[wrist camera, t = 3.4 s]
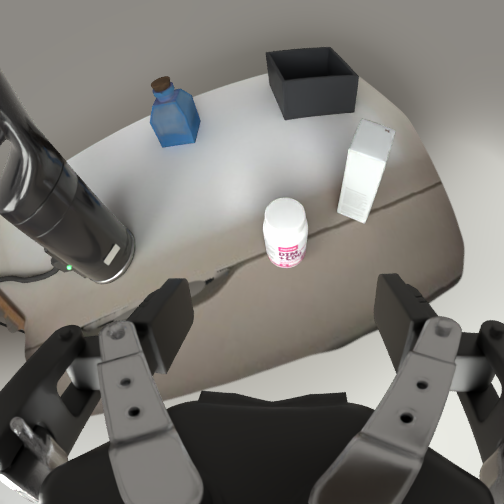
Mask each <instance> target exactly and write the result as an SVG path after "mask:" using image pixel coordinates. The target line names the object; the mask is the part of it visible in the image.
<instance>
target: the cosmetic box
mask: <svg viewBox="0 0 504 504" xmlns="http://www.w3.org/2000/svg"><path fill="white" fill-rule="evenodd" d="M394 136H395V130H394V129H391V128H388V127H386V126H383V125H380V124H378V123H375V122H372V121H369V120H366V119H361V121H360V123H359V126H358V128H357V130H356V133H355V135H354V138H353V140H352V142H351V145H350V147H349V149H348V155H347V161H346V167H345V172H344V178H343V183H342V188H341V193H340V198H339V204H338V209H337V212H338V213H340V214H342V215H345V216H347V217H350V218H352V219H355V220H357V221H359V222H362V223H365V222H366V220H367V217H368V215H369V212H370V210H371V207H372V204H373V202H374V199H375V196H376V193H377V190H378V187H379V184H380V181H381V178H382V175H383V172H384V169H385V166H386V163H387V160H388V156H389V153H390V150H391V147H392V143H393V140H394Z"/></svg>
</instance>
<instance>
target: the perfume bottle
mask: <svg viewBox="0 0 504 504" xmlns="http://www.w3.org/2000/svg"><path fill="white" fill-rule="evenodd" d="M151 87H152V88H153V94H154V96H155V97H156V100H155V102H154V104H153V106H152V112H151V118H150V124H151V126H152V128H153V130H154V132H155V134H156V136H157V138H158V140H159V142H160V144H161V146H162V148H163V147H169V146H175V145H182V144H189V143H195V140H196V136H197V132H198V128H199V125H200V118H199V115H198V112H197V109H196V106H195V103H194V101H193V98H192V95H190V94H189V93H187V92H185V91H184V90H182V89H176V90H174V86H173V83H172V82H170V78H169V77H168V76H165V77H161V78H158V79H156V80H155V81H153V82H152V83H151Z"/></svg>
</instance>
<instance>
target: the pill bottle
mask: <svg viewBox="0 0 504 504" xmlns="http://www.w3.org/2000/svg"><path fill="white" fill-rule="evenodd" d="M263 233H264V239H265V245H266V251H267V255H268V257H269V259H270V260H271V262H272V263H273V264H275V265H277V266H279V267H282V268H290V267H293V266H296V265H297V264H299V263H300V262H301V261H302V260H303V258H304V256H305V252H306V243H307V234H308V223H307V220H306V213H305V209H304V207H303V206H302V204H301V203H299V202H298V201H297V200H295V199H292V198H286V197H285V198H278V199H276V200H274V201H272V202H271V203H270V204H269V205H268V206H267V208H266V210H265V220H264V223H263Z"/></svg>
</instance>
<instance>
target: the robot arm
mask: <svg viewBox="0 0 504 504" xmlns="http://www.w3.org/2000/svg"><path fill="white" fill-rule="evenodd" d="M6 139H7V140H9V141H10V142H11V144H10V151H9V155H8V159H7V162H6V165H5V168H4V170H3V173H2V175H1V177H0V215H2V216H3V217H4V218H5V219H6V220H8V221H9V222H10V223H12V224H13V225H14V226H15V227H17V228H18V229H19V230H21V231H22V232H23V233H24V234H26V235H27V236H29V237H30V238H31V239H33V240H34V241H35V242H37V243H38V244H40V245H41V246H42V247H44V250H45V252H46V253H47V254H49V255H50V256H52V259H51V264H52V265H53V266H54V268H53V269H52V270H51V271H49V272H47V273H44V274H41V275H37V276H32V277H26V278H23V277H17V276H5V277H0V282H3V281H17V282H22V283H29V282H34V281H39V280H43V279H46V278H48V277H50V276H52V275H54V274H55V273H57V272H58V270H59V269H60V270H61V271H63V272H68V271H72V270H73V271H74V272H76V273H77V274H79V275H81V276H82V277H84V278H89V279H90V280H92V281H94V282H95V283H98V284H107V283H110V282H113V281H115V280H116V279H118V278H119V277H120V276H121V275H122V274H123V273H124V272H125V271H126V270H127V268H128V267H129V265H130V263H131V261H132V259H133V256H134V251H135V241H134V237H133V235H132V233H131V232H130V231H129V230H128V229H127V228H126V227H125V226H123V225H122V224H121V222H120V221H119V220H118V219H117V218H116V217H115V216H114V215H113V214H112V213H111V212H110V211H109V209H108V208H107V207H106V206H105V205H104V204H103V203H102V202H101V201H100V200H99V199H98V197H97V196H96V195H95V194H94V193H93V192H92V191H91V190H90V188H89V187H88V186H87V185H86V184H85V183H84V182H83V180H82V179H81V178H80V177H79V176H78V175H77V174H76V172H75V171H74V170H73V169H72V168H71V167H70V165H69V164H68V163H67V162H66V161H65V159H64V158H63V157H62V156H61V155H60V153H59V152H58V151H57V150H56V149H55V148H54V147H53V145H52V144H51V143H50V142H49V141H48V139H47V138H46V137H45V136H44V135H43V133H42V132H41V131H40V129H39V128H38V127H37V126H36V124H35V123H34V121H33V120H32V118H31V117H30V115H29V114H28V112H27V111H26V109H25V108H24V106H23V104H22V102H21V101H20V99H19V98H18V96H17V94H16V93H15V91H14V89H13V87H12V86H11V84H10V83H9V81H8V79H7V78H6V76H5V74H4V73H3V71H2V70H1V69H0V145H1V144H2V143H3V142H4V141H5V140H6ZM193 319H194V311H193V306H192V300H191V295H190V290H189V284H188V281H187V279H185V278H169V279H168V280H167V281H166V282H165V283H164V284H163V285H162V287H161V288H160V289H157V290H156V291H154V292H152V293H151V294H149V295H148V296H147V297H146V298H145V300H144V301H143V302H142V303H141V304H140V305H139V307H137V309H136V310H135V311H134V312H133V313H132V314H131V315H130V317H129V318H128V319H127V320H126V321H116V322H112V323H110V324H108V325H106V326H104V327H103V328H102V329H101V330H100V332H99V336H89V337H84V335H83V333H82V330H81V328H80V327H79V326H77V325H68V326H65V327H62V328H60V329H58V330H57V331H55V332H54V333H53V334H52V335H51V336H50V337H49V338H48V339H47V340H46V341H45V342H44V343H43V345H42V346H41V347H40V348H39V349H38V350H37V351H36V352H35V353H34V354H33V355H32V356H31V357H30V358H29V359H28V361H27V362H26V363H25V364H24V365H23V366H22V367H21V368H20V369H19V370H18V372H17V373H16V374H15V375H14V376H13V377H12V379H11V380H10V381H9V382H8V383H7V384H6V385H5V387H4V388H3V389H2V390H1V391H0V479H1V480H2V481H3V482H4V483H5V484H7V485H8V486H9V487H10V488H11V489H13V490H15V491H17V492H18V493H19V494H20V495H22V496H23V497H25V498H26V499H27V500H29V501H31V502H35V503H37V502H39V504H504V324H503V323H501V322H499V321H493V320H489V321H485V322H484V323H483V324H482V325H481V328H480V331H479V333H466V332H462V329H461V327H460V325H459V324H458V323H457V322H456V321H454V320H452V319H450V318H447V317H442V316H438V315H437V314H436V313H435V311H434V310H433V309H432V307H431V306H430V305H429V304H428V302H426V300H425V298H424V297H422V295H421V293H420V292H419V291H418V290H417V289H416V288H414V287H413V286H411V285H409V284H405V283H404V281H403V280H402V279H401V278H400V276H399V275H398V274H397V273H393V274H380V275H379V277H378V282H377V290H376V298H375V305H374V319H375V323H376V325H377V327H378V330H379V332H380V334H381V336H382V339H383V341H384V344H385V346H386V349H387V351H388V353H389V356H390V358H391V361H392V363H393V366H394V368H395V371H396V374H397V375H396V376H395V378H394V380H393V382H392V383H391V385H390V387H389V389H388V390H387V392H386V394H385V395H384V397H383V398H382V400H381V402H380V403H379V405H378V407H377V408H376V409H375V410H374V409H371V408H369V407H366V406H363V405H359V404H354V403H348V402H347V397H346V392H344V393H343V392H342V393H328V394H309V395H305V396H301V397H296V398H291V399H286V400H280V401H274V402H271V401H265V400H261V399H256V398H252V397H248V396H244V395H240V394H236V393H222V392H210V391H201V394H200V397H199V400H198V401H190V402H185V403H182V404H178V405H175V406H172V407H170V408H168V409H166V408H165V405H164V403H163V401H162V398H161V396H160V394H159V391H158V389H157V386H156V384H155V382H154V379H153V377H152V376H153V375H154V373H161V374H167V372H168V370H169V368H170V366H171V364H172V362H173V360H174V358H175V356H176V354H177V352H178V351H179V349H180V347H181V345H182V343H183V341H184V339H185V337H186V335H187V333H188V332H189V330H190V328H191V326H192V324H193ZM0 325H2V326H5V327H7V325H6V324H4V323H2V322H0ZM18 331H19V332H22V333H24V334H25V332H24V330H21V329H20V330H18ZM65 371H66V372H67V373H68V375H69V377H70V379H71V381H72V382H71V383H70V385H69V386H68V387H67V389H66V390H65V392H64V393H63V394H62V396H61V397H60V396H59V395H58V392H57V382H58V380H59V379H60V378H61V376H62V375H63V374H64V372H65ZM495 374H496V376H497V377H498V379H499V381H500V383H501V385H502V394H501V397H500V398H499V396H498V395H497V392H496V390H495V389H494V387H493V385H492V383H491V382H492V380H493V378H494V376H495ZM449 391H457V394H458V396H459V399H460V401H461V404H462V406H463V408H464V411H465V413H466V416H467V418H468V421H469V424H470V426H471V429H472V432H473V435H474V437H475V440H476V443H477V446H478V449H479V452H480V455H481V459H482V462H483V465H482V468H481V470H480V480H479V479H478V478H476V477H475V476H473V475H471V474H469V473H468V472H466V471H465V470H463V469H462V468H460V467H459V466H457V465H455V464H453V463H452V462H451V461H449V460H448V459H446V458H445V457H443V456H442V455H440V454H439V453H437V452H436V451H434V450H433V449H431V448H430V447H428V446H429V444H430V442H431V440H432V437H433V435H434V432H435V430H436V427H437V425H438V422H439V420H440V417H441V414H442V412H443V409H444V406H445V403H446V400H447V397H448V394H449ZM100 398H101V399H102V405H103V411H104V416H105V421H106V426H107V430H108V435H109V439H110V441H109V442H107V443H105V444H103V445H101V446H99V447H97V448H95V449H93V450H91V451H89V452H87V453H85V454H83V455H80V456H78V457H76V458H74V459H72V460H70V461H68V455H69V453H70V451H71V449H72V447H73V446H74V444H75V442H76V440H77V438H78V436H79V435H80V433H81V431H82V429H83V428H84V426H85V424H86V422H87V421H88V419H89V417H90V415H91V414H92V412H93V410H94V408H95V407H96V405H97V403H98V402H99V400H100Z"/></svg>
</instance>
